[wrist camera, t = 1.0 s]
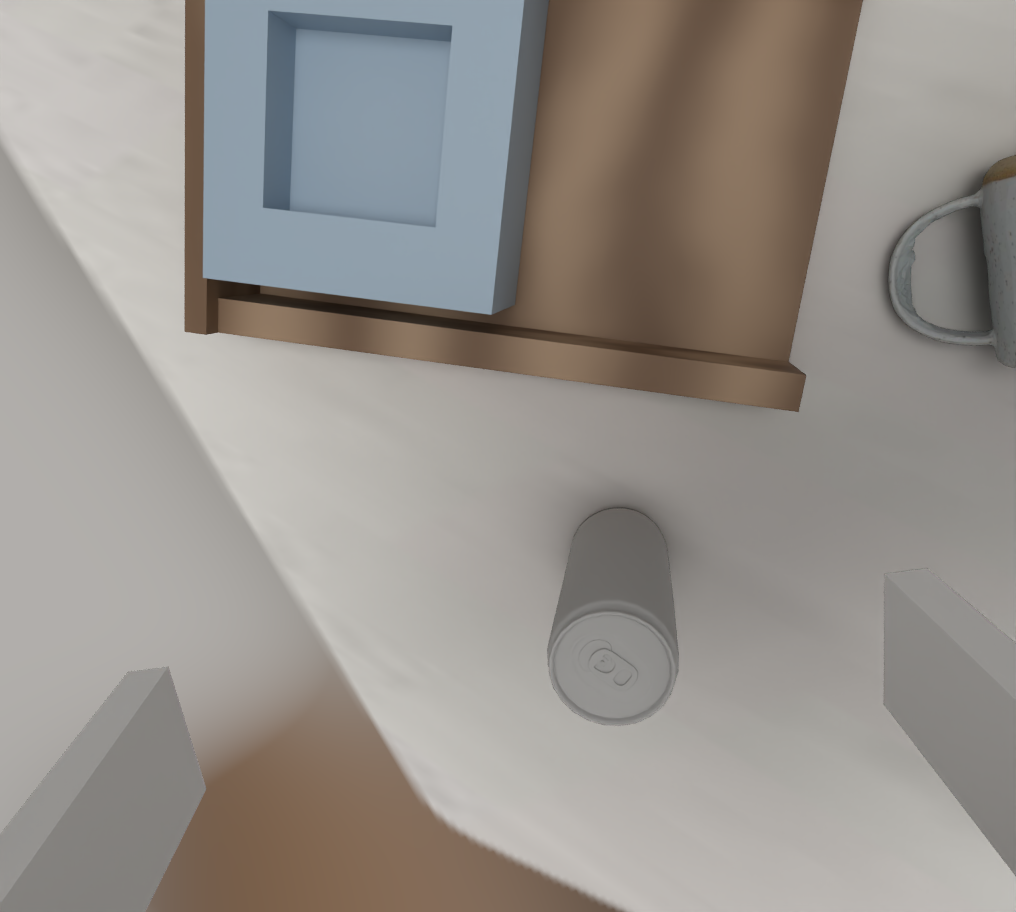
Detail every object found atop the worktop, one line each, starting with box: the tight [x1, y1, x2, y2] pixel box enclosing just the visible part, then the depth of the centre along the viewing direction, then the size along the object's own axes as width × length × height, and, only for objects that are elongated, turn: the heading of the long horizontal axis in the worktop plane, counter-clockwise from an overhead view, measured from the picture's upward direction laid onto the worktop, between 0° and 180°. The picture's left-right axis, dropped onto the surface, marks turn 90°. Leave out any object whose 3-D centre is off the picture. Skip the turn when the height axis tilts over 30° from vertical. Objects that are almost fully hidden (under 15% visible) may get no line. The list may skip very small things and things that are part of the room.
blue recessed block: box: [203, 0, 549, 315], centre depth 33 cm, size 12×13×6 cm
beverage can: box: [547, 508, 679, 726], centre depth 34 cm, size 5×5×12 cm
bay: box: [185, 0, 863, 412], centre depth 33 cm, size 26×18×6 cm
